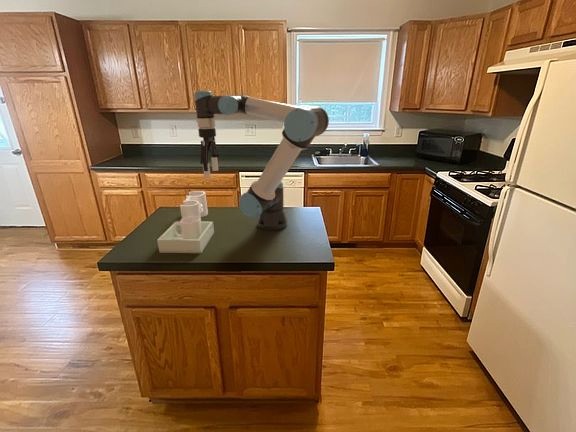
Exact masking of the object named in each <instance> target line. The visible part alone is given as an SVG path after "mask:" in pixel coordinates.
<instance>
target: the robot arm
mask: <svg viewBox="0 0 576 432" xmlns="http://www.w3.org/2000/svg"><path fill="white" fill-rule="evenodd" d="M194 104H195V111H196V113H195V114H196V119H197V120H196V123H197V127H198V137H199V138H202V139H203V140H200V163H199V164H201V165H202V169H203V177H204V179H211V176H212V175H211V168H212V172H213V171H214V172H215V171H217V172H218V171H219V164H218V158H220V154H219V152H218V148H217V143H216V139H215V138H216V136H217V132H216V128H215V127H216V121H215V120H216V119H215V115H225V116H229V115H235V114H243V115H248V116H249V115H250V116H254V117H258V118H263V119H265V120H266V119H267V120H271V121H275V122H280V123H283V127H284V128H283V129H282V131H281V136H282V139H281V141H280V143H279V144H278V146H277V148H276V149H275V151H274V153H273V155H272V156H271V158H270V160H269V161H268V162H267V163H266V166H265V168H264V170H263V171H262V173H261V174H260V177H259V178H258V179H257V180H255V181H253V182H252V183H251V185H250V186H249V187H248V190H247V191H246V192H243V193H242V194H241V195H240V196H239V198H238V205H239V208H240V210H241V212H242V213H243V214H244V215H245V216H247V217H249V218H254V219H255V218H257V217H258V218H257V227H258V228H259V229H262V230H265V231H277V230H278V231H279V230H282V229H284V228H286V227H287V226H288V219H287V216H286V215H287V214H286V213H285V211H284V205H285V204H284V190H285V188H284V184H283V182H282V180H283V179H284V178H285V176H286V175H287V173H288V172H289V169H290V168H291V166H293V163H294V162H295V160H296V159H297V158H298V156H299V155H300V153H301V151H304V150H307V149H308V148H309V146H310V144H311V143H312V141H313V140H315V138H316V137H318V136H321V135H322V134H323V133H325V131H326V130H327V129H328V127H329V123H330V120H329V119H330V117H329V115H328V113H327V111H326V109H324V108H323V107H321V106H318V105H306V104H301V105H300V106H297V105H292V104H287V103H281V102H276V101H271V100H265V99H260V98H257V97H252V96H249V95H247V94H246V95H245V94H238V95H237V94H235V95H230V94H229V95H228V94H226V95H213V93H212V90H196V91H195V92H194ZM210 156H211V157H210ZM210 158H211V168H210V163H209V159H210Z"/></svg>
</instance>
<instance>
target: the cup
mask: <svg viewBox="0 0 576 432" xmlns="http://www.w3.org/2000/svg"><path fill="white" fill-rule="evenodd" d="M179 221H180V222H177V223H175V222H174V223H175V224H174V223H173V224H174V233H175V235H176V236H177V237H181V238H183V239H199V237H200V236H201V235H202V232H201V224H200V218H199V217H196V216H189V217H185V218H183V219H182V218H181V219H180V220H179ZM177 225H181V229H182V235H179V234H178V233H177V231H176V226H177Z"/></svg>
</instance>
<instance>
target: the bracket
mask: <svg viewBox="0 0 576 432" xmlns="http://www.w3.org/2000/svg"><path fill="white" fill-rule="evenodd" d="M206 193H207V192H205V191H203V190H193V191H188V195H185V200H183V201H182V203H183V204H180V205H179V208H180V215H181V219H183V218H185V217H189V216H196V217H199V218H200V221H202V218H203V217H206V216H207V215H208V214H209V210H208V202H207V196H206Z"/></svg>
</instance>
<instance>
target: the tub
mask: <svg viewBox="0 0 576 432" xmlns="http://www.w3.org/2000/svg"><path fill="white" fill-rule="evenodd" d="M177 222H180V220H175V221H174V222H173V223H172V224H171V225H170V227H169V228H167V230H165V232H164V233H162V234H161V235H160V236H159V238H157V240H156V241H157V242H156V243H157V247H158V251H159V254H160V253H161V254H202V253H203V252H204V249H205V248H206V247H207V246H208V244H209V242H210V241H211V239H212V237H213V236H214V235H215V228H214V227H215V226H214V221H202V220H201V221H200V224H201V232H202V235H201V236H200V237H199V239H183V238H181V237H177V236H176V235H175V233H174V224H175V223H177ZM176 231H177V233H178V234H179V235H182V229H181V225H177V226H176Z"/></svg>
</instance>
